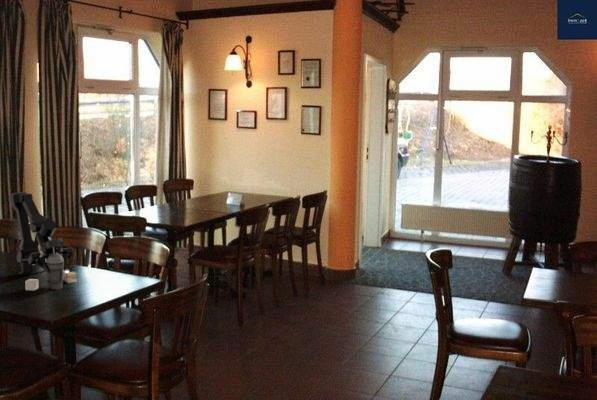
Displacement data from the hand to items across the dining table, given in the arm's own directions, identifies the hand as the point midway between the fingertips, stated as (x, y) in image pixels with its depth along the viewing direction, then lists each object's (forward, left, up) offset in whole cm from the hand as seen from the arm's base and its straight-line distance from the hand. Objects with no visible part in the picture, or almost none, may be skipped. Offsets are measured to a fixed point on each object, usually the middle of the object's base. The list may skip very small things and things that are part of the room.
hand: (57, 271), depth 283 cm
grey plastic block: (-10, -4, -8) cm, 13 cm away
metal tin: (-8, +14, -8) cm, 18 cm away
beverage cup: (-1, +1, -8) cm, 8 cm away
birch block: (-2, +11, -8) cm, 14 cm away
